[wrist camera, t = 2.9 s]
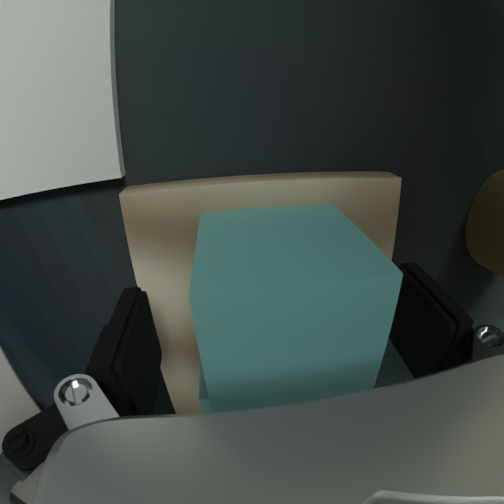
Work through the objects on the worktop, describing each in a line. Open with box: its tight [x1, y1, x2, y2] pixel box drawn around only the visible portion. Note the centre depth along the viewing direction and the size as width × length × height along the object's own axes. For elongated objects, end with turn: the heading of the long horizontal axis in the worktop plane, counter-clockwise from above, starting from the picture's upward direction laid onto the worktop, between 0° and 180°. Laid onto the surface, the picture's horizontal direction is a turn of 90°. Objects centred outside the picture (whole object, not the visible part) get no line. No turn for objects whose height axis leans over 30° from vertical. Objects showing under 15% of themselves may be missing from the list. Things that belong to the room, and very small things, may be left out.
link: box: [189, 204, 403, 413], centre depth 12 cm, size 13×6×6 cm, turn 2°
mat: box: [0, 0, 125, 200], centre depth 8 cm, size 15×9×1 cm, turn 2°
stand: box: [119, 171, 402, 414], centre depth 12 cm, size 16×11×10 cm
